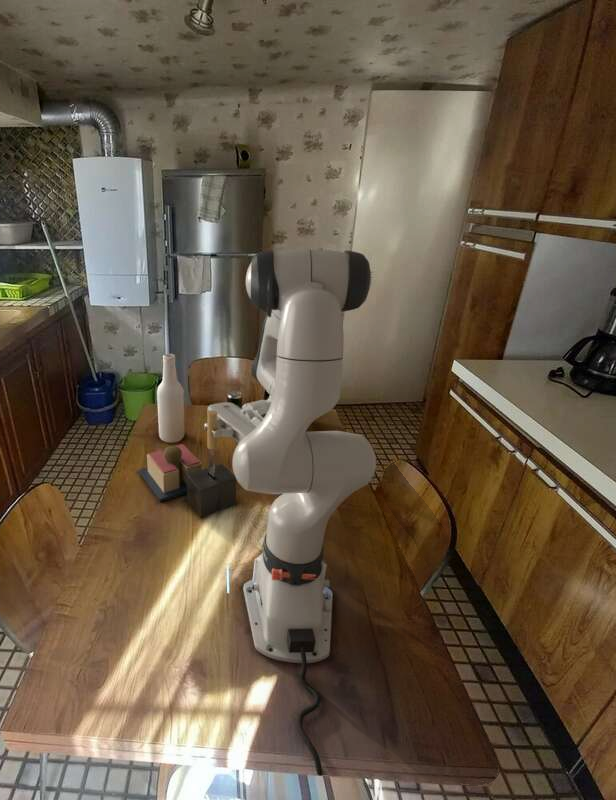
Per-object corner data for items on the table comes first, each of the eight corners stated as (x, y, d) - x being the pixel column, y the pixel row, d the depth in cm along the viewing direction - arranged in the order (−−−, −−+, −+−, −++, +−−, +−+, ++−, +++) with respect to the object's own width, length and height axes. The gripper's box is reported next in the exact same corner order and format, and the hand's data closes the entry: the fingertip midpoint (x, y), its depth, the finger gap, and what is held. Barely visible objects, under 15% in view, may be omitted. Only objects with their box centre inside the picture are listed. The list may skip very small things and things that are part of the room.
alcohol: (184, 430, 156) (183, 350, 143) (184, 443, 148) (182, 360, 135) (160, 430, 155) (156, 350, 142) (158, 443, 147) (153, 360, 134)
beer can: (234, 427, 158) (235, 397, 153) (223, 422, 162) (224, 392, 156) (244, 422, 162) (245, 393, 156) (233, 417, 165) (234, 388, 160)
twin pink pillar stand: (210, 485, 127) (211, 463, 124) (160, 502, 120) (159, 479, 116) (186, 458, 139) (186, 438, 136) (139, 472, 132) (137, 451, 129)
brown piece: (180, 487, 125) (179, 455, 120) (160, 485, 126) (159, 453, 122) (186, 475, 131) (185, 444, 126) (166, 473, 132) (165, 442, 127)
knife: (218, 483, 116) (219, 413, 107) (210, 486, 115) (210, 415, 106) (213, 478, 118) (214, 409, 109) (205, 481, 117) (205, 411, 108)
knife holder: (235, 505, 119) (237, 478, 115) (200, 518, 114) (200, 490, 110) (221, 489, 125) (221, 463, 121) (186, 501, 120) (186, 474, 116)
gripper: (234, 393, 122) (190, 403, 116) (278, 423, 106) (230, 437, 100) (233, 413, 125) (190, 424, 119) (276, 446, 109) (230, 460, 103)
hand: (209, 430), depth 109 cm, fingers closed on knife, 2 cm apart
